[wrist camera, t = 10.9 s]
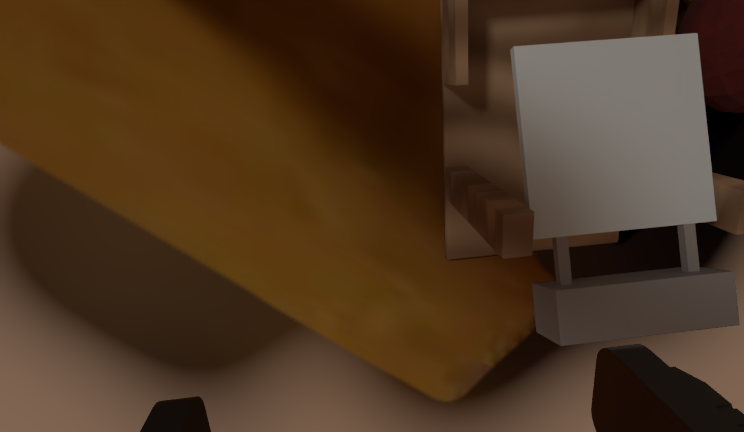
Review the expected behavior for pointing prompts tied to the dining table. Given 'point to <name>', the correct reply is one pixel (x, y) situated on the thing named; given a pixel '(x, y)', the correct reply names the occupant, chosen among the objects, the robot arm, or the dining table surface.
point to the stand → (499, 118)
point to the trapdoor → (619, 181)
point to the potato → (719, 50)
